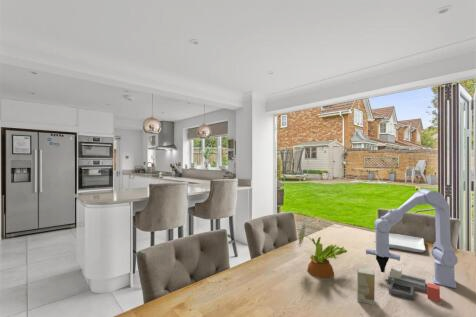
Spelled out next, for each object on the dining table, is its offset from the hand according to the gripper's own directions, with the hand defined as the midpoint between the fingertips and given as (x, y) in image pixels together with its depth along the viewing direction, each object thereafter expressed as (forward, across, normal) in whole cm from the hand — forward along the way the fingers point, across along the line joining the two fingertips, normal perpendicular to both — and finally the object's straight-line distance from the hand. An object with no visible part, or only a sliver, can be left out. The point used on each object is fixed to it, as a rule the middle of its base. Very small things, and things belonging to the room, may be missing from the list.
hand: (382, 271), depth 123 cm
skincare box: (+3, -2, -27) cm, 27 cm away
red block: (+3, +20, -8) cm, 21 cm away
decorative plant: (+3, -25, -13) cm, 29 cm away
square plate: (+3, +2, +60) cm, 60 cm away
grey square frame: (+3, +9, -11) cm, 14 cm away
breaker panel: (+3, +10, 0) cm, 10 cm away
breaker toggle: (+1, +6, 0) cm, 6 cm away
